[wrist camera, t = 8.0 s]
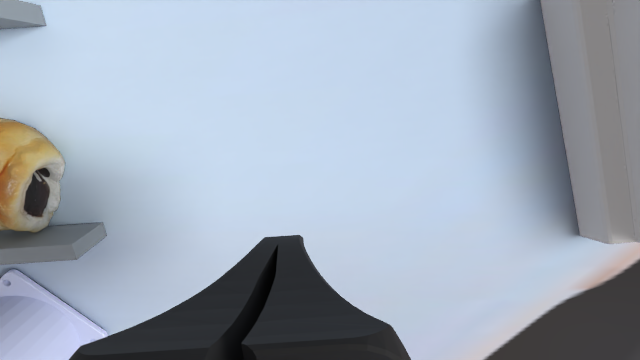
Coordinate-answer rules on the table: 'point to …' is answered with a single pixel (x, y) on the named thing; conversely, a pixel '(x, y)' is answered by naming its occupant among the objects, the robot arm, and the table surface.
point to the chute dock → (52, 241)
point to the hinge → (599, 110)
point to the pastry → (27, 177)
